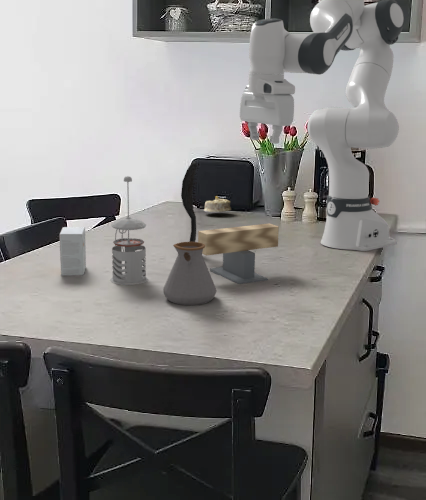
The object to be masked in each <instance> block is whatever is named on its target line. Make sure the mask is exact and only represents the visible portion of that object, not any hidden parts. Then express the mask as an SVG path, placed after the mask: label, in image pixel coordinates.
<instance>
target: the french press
mask: <svg viewBox="0 0 426 500" xmlns="http://www.w3.org/2000/svg"><path fill="white" fill-rule="evenodd" d="M132 181H133V178H132V177H131V176H129V175H127V176H124V178H123V182H124V183H125V182H126V184H127V186H126V187H127V216H126V217H123V218H119V219H117V220H115V221H113V222H112V223H111V224H110V226H111V227H112V228H113V229H116V230H115V234H114V235H115V236H114V241H113V242H112V243H113V244H114V246H113V247H112V248H111V253H112V256H111V257H112V262H111V263H112V277H111V278H110V279H109V281H110V282H111V283H113V284H116V285H122V286H123V285H125V286H127V285H128V286H129V285H131V286H132V285H139V284H143V283H146V282H147V283H148V281H149V278H148V277H147V273H146V272H147V271H146V270H147V268H146V267H147V263H146V259H147V258H146V256H147V254H146V251H147V250H146V247H145V246H144V243H145V241H144V240H143V239H141V238H132V237H130V231H138V230H142V229H144V228H146V226H147V224H146V223H145V222H144V221H142V220H141V219H139V218H135V217H130V202H129V201H130V199H129V196H130V195H129V191H130V190H129V183H130V182H132ZM117 233H119V234H120V235H121V238H117ZM125 233H127V236H128V237H124V234H125ZM123 262H124V263H123Z"/></svg>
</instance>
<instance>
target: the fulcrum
mask: <svg viewBox="0 0 426 500" xmlns="http://www.w3.org/2000/svg"><path fill="white" fill-rule="evenodd" d="M255 260H256V252H254V251H252V250H247V251H239V252H231V253H223V254H222V266H218V267H211V268H210V269H209V273H210V272H211V273H212V274H215V275H217V276H220V277H222V278H224V279H227V280H228V281H230V282H233V283H235V284H237V285H241V284H248V283H249V284H251V283H256V282H258V283H259V282H262V281H263V282H264V281H269V280H268V279H269V278H268V277H266V276H264V275H261V274H259V273H257V272H256V271H255V270H256V268H255V267H256V261H255Z"/></svg>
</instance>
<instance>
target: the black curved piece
mask: <svg viewBox="0 0 426 500" xmlns="http://www.w3.org/2000/svg"><path fill="white" fill-rule="evenodd" d="M197 163H198V162H197V161H196V162H195V161H193V162H191V164H190V165H189V166H188V168H187V170H186V172H185V174H184V177H183V179H182V182H181V183H182V184H181V191H180V192H181V193H180V197H181V198H180V199H181V201H182V207H184V210H185V211H186V213H187V215H188V216H189V218H190V227H191V228H190V229H191V230H190V236H189V240H188V242H196V238H197V216H196V212H195V209H197V207H195V206H196V203H194V200H195V201H196V199H197V198H196V197H197V196H195V195H196V194H197V193H195V192H196V189H197V187H195V185H197V183H198V182H197V181H194V180H198V179H197V177H195V175H196V176H197V168H200V164H197ZM193 196H194V198H193ZM194 205H195V206H194Z"/></svg>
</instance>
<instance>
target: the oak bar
mask: <svg viewBox="0 0 426 500" xmlns="http://www.w3.org/2000/svg"><path fill="white" fill-rule="evenodd" d="M197 233H198V235H197V237H198V240H197V242H199V243H203V244H205V248H203V252H202V255H203V256H204V255H205V256H213V255H223V253H231V252H239V251H247V250H249V251H253V250H262V249H268V248H278V247H279V226H278V225H275V224H272V223H270V222H269V223H262V224H261V223H260V224H253V225H243V226H242V225H241V226H234V227H226V228H225V227H223V228H216V229H215V228H214V229H207V230H206V229H204V230H198V232H197Z"/></svg>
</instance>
